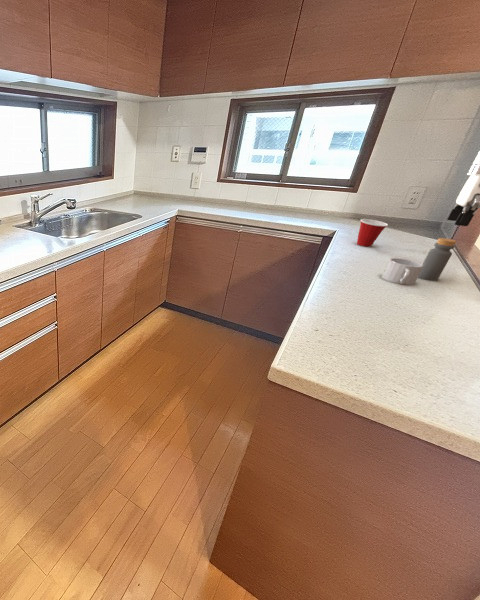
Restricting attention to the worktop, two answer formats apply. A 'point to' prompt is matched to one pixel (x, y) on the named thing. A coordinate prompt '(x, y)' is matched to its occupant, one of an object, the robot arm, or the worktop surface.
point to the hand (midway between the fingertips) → (456, 222)
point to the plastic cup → (369, 231)
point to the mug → (402, 271)
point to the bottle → (437, 259)
